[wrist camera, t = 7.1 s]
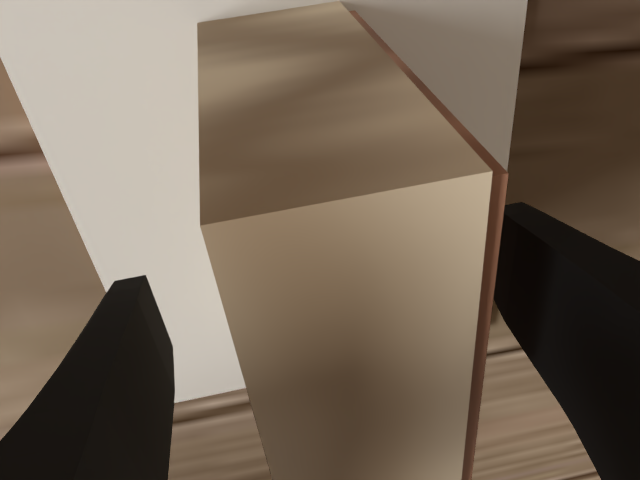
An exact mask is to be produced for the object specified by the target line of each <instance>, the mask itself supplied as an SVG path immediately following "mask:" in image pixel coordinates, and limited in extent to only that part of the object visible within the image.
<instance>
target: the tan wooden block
mask: <svg viewBox="0 0 640 480" xmlns="http://www.w3.org/2000/svg"><path fill="white" fill-rule="evenodd" d="M197 46H198V119H199V193H200V228H201V231H202V235H203V238H204V242H205V245H206V249H207V252H208V256H209V259H210V263H211V266H212V270H213V273H214V277H215V280H216V284H217V287H218V291H219V294H220V298H221V301H222V305H223V308H224V312H225V315H226V319H227V322H228V326H229V329H230V333H231V336H232V340H233V343H234V347H235V350H236V354H237V358H238V361H239V365H240V368H241V372H242V375H243V379H244V382H245V386H246V389H247V393H248V396H249V400H250V403H251V407H252V410H253V414H254V417H255V421H256V424H257V428H258V431H259V435H260V438H261V442H262V445H263V449H264V452H265V456H266V459H267V463H268V466H269V470H270V473H271V477H272V480H471V478H472V470H473V462H474V453H475V445H476V437H477V429H478V420H479V412H480V404H481V396H482V388H483V379H484V371H485V363H486V355H487V346H488V338H489V330H490V322H491V313H492V305H493V297H494V289H495V281H496V272H497V264H498V256H499V248H500V239H501V231H502V223H503V215H504V206H505V198H506V190H507V182H508V174H509V173H508V172H507V171H506V170H505V169H504V168H503V167H502V166H501V165H500V164H499V163H498V162H497V161H496V160H495V158H494V157H493V156H492V155H491V154H490V153H489V152H488V151H487V150H486V149H485V148H484V147H483V146H482V145H481V144H480V143H479V141H478V140H477V139H476V138H475V137H474V136H473V135H472V134H471V133H470V132H469V131H468V130H467V129H466V128H465V127H464V126H463V125H462V123H461V122H460V121H459V120H458V119H457V118H456V117H455V116H454V115H453V114H452V113H451V112H450V111H449V110H448V109H447V108H446V106H445V105H444V104H443V103H442V102H441V101H440V100H439V99H438V98H437V97H436V96H435V95H434V94H433V93H432V92H431V91H430V90H429V88H428V87H427V86H426V85H425V84H424V83H423V82H422V81H421V80H420V79H419V78H418V77H417V76H416V75H415V74H414V73H413V71H412V70H411V69H410V68H409V67H408V66H407V65H406V64H405V63H404V62H403V61H402V60H401V59H400V58H399V57H398V56H397V55H396V53H395V52H394V51H393V50H392V49H391V48H390V47H389V46H388V45H387V44H386V43H385V42H384V41H383V40H382V39H381V38H380V36H379V35H378V34H377V33H376V32H375V31H374V30H373V29H372V28H371V27H370V26H369V25H368V24H367V23H366V22H365V21H364V20H363V18H362V17H361V16H360V15H359V14H358V13H357V12H356V11H355V10H354V11H348V10H347V9H346V8H345V7H344V6H343V5H342V3H341V2H340V1H335V2H329V3H322V4H316V5H309V6H303V7H297V8H290V9H284V10H277V11H271V12H264V13H258V14H251V15H245V16H238V17H232V18H225V19H219V20H212V21H206V22H200V23H197Z"/></svg>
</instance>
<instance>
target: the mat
mask: <svg viewBox="0 0 640 480" xmlns="http://www.w3.org/2000/svg"><path fill="white" fill-rule="evenodd" d="M335 1H340V2H341V3H342V5H343V6H344V7H345V8H346V9H347V10H348V11H354V10H355V11H356V12H357V13H358V14H359V15H360V16H361V17H362V18H363V20H364V21H365V22H366V23H367V24H368V25H369V26H370V27H371V28H372V29H373V30H374V31H375V32H376V33H377V34H378V35H379V36H380V38H381V39H382V40H383V41H384V42H385V43H386V44H387V45H388V46H389V47H390V48H391V49H392V50H393V51H394V52H395V53H396V55H397V56H398V57H399V58H400V59H401V60H402V61H403V62H404V63H405V64H406V65H407V66H408V67H409V68H410V69H411V70H412V71H413V73H414V74H415V75H416V76H417V77H418V78H419V79H420V80H421V81H422V82H423V83H424V84H425V85H426V86H427V87H428V88H429V90H430V91H431V92H432V93H433V94H434V95H435V96H436V97H437V98H438V99H439V100H440V101H441V102H442V103H443V104H444V105H445V106H446V108H447V109H448V110H449V111H450V112H451V113H452V114H453V115H454V116H455V117H456V118H457V119H458V120H459V121H460V122H461V123H462V125H463V126H464V127H465V128H466V129H467V130H468V131H469V132H470V133H471V134H472V135H473V136H474V137H475V138H476V139H477V140H478V141H479V143H480V144H481V145H482V146H483V147H484V148H485V149H486V150H487V151H488V152H489V153H490V154H491V155H492V156H493V157H494V158H495V160H496V161H497V162H498V163H499V164H500V165H501V166H502V167H503V168H504V169H505V170H506V171H507V169H508V160H509V152H510V144H511V135H512V127H513V119H514V110H515V102H516V94H517V85H518V77H519V69H520V61H521V52H522V44H523V36H524V27H525V19H526V11H527V2H528V0H0V57H1V59H2V62H3V64H4V66H5V68H6V71H7V73H8V75H9V77H10V79H11V82H12V84H13V86H14V88H15V90H16V93H17V95H18V97H19V99H20V102H21V104H22V106H23V108H24V110H25V113H26V115H27V117H28V119H29V122H30V124H31V126H32V128H33V130H34V133H35V135H36V137H37V139H38V142H39V144H40V146H41V148H42V150H43V153H44V155H45V157H46V159H47V162H48V164H49V166H50V168H51V170H52V173H53V175H54V177H55V179H56V182H57V184H58V186H59V188H60V190H61V193H62V195H63V197H64V199H65V202H66V204H67V206H68V208H69V210H70V213H71V215H72V217H73V219H74V222H75V224H76V226H77V228H78V230H79V233H80V235H81V237H82V239H83V242H84V244H85V246H86V248H87V250H88V253H89V255H90V257H91V259H92V262H93V264H94V266H95V268H96V270H97V273H98V275H99V277H100V279H101V282H102V284H103V286H104V288H105V290H106V293H107V291H108V290H109V288H110V287H111V285H112V284H113V282H114V281H116V280H122V279H127V278H132V277H137V276H142V275H146V277H147V279H148V282H149V285H150V287H151V290H152V293H153V295H154V298H155V300H156V303H157V306H158V308H159V311H160V314H161V316H162V319H163V321H164V324H165V327H166V329H167V332H168V334H169V337H170V340H171V342H172V345H173V357H174V379H175V398H174V403H177V402H182V401H186V400H191V399H196V398H200V397H205V396H210V395H215V394H219V393H224V392H229V391H233V390H238V389H243V388H246V386H245V382H244V379H243V375H242V372H241V368H240V365H239V361H238V358H237V354H236V350H235V347H234V343H233V340H232V336H231V333H230V329H229V326H228V322H227V319H226V315H225V312H224V308H223V305H222V301H221V298H220V294H219V291H218V287H217V284H216V280H215V277H214V273H213V270H212V266H211V263H210V259H209V256H208V252H207V249H206V245H205V242H204V238H203V235H202V231H201V228H200V193H199V119H198V46H197V23H200V22H206V21H212V20H219V19H225V18H232V17H238V16H245V15H251V14H258V13H264V12H271V11H277V10H284V9H290V8H297V7H303V6H309V5H316V4H322V3H329V2H335Z"/></svg>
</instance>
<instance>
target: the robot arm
mask: <svg viewBox="0 0 640 480" xmlns="http://www.w3.org/2000/svg"><path fill="white" fill-rule="evenodd" d="M493 298H494V301H495V303H496V305H497V307H498V309H499V311H500V313H501V315H502V317H503V319H504V321H505V322H506V324H507V326H508V327H509V329H510V330H511V332H512V333H513V335H514V336H515V338H516V339H517V341H518V342H519V344H520V346H521V347H522V349H523V350H524V352H525V353H526V355H527V356H528V358H529V359H530V361H531V362H532V364H533V365H534V367H535V368H536V369H537V371H538V372H539V374H540V375H541V377H542V378H543V380H544V381H545V383H546V384H547V386H548V387H549V389H550V390H551V392H552V393H553V395H554V396H555V398H556V399H557V401H558V402H559V404H560V405H561V407H562V408H563V410H564V412H565V413H566V415H567V417H568V418H569V420H570V422H571V423H572V425H573V427H574V428H575V430H576V432H577V434H578V436H579V438H580V440H581V442H582V444H583V445H584V447H585V449H586V451H587V453H588V455H589V457H590V459H591V461H592V462H593V464H594V466H595V468H596V470H597V472H598V474H599V476H600V478H601V480H640V261H638V260H636V259H634V258H632V257H630V256H628V255H626V254H624V253H621V252H619V251H617V250H615V249H613V248H611V247H609V246H607V245H605V244H603V243H601V242H599V241H597V240H595V239H594V238H592V237H590V236H588V235H586V234H584V233H582V232H580V231H578V230H576V229H574V228H572V227H570V226H569V225H567V224H565V223H563V222H561V221H559V220H557V219H555V218H553V217H551V216H549V215H547V214H545V213H543V212H541V211H539V210H537V209H535V208H533V207H531V206H529V205H527V204H525V203H522V202H520V203H514V204H509V205H505V206H504V215H503V223H502V231H501V239H500V248H499V256H498V264H497V272H496V281H495V289H494V297H493ZM174 398H175V379H174V357H173V345H172V342H171V340H170V337H169V334H168V332H167V329H166V327H165V324H164V321H163V319H162V316H161V314H160V311H159V308H158V306H157V303H156V300H155V298H154V295H153V293H152V290H151V287H150V285H149V282H148V279H147V277H146V275H142V276H137V277H132V278H127V279H122V280H116V281H114V282H113V284H112V285H111V287H110V288H109V290H108V291H107V293H106V294H105V296H104V297H103V299H102V301H101V302H100V304H99V305H98V307H97V309H96V310H95V312H94V313H93V315H92V317H91V318H90V320H89V321H88V323H87V324H86V326H85V328H84V329H83V331H82V332H81V334H80V335H79V337H78V338H77V340H76V341H75V343H74V344H73V346H72V347H71V349H70V350H69V352H68V353H67V355H66V356H65V358H64V359H63V361H62V362H61V364H60V365H59V367H58V368H57V369H56V371H55V372H54V374H53V375H52V376H51V378H50V379H49V380H48V382H47V383H46V384H45V386H44V387H43V388H42V390H41V391H40V392H39V394H38V395H37V396H36V398H35V399H34V400H33V402H32V403H31V404H30V406H29V407H28V408H27V410H26V411H25V412H24V413H23V415H22V416H21V417H20V418H19V420H18V421H17V422H16V423H15V425H14V426H13V427H12V428H11V429H10V430H9V432H8V433H7V434H6V435H5V436H4V437H3V438H2V440H1V441H0V480H168V469H169V458H170V446H171V435H172V423H173V411H174Z"/></svg>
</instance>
